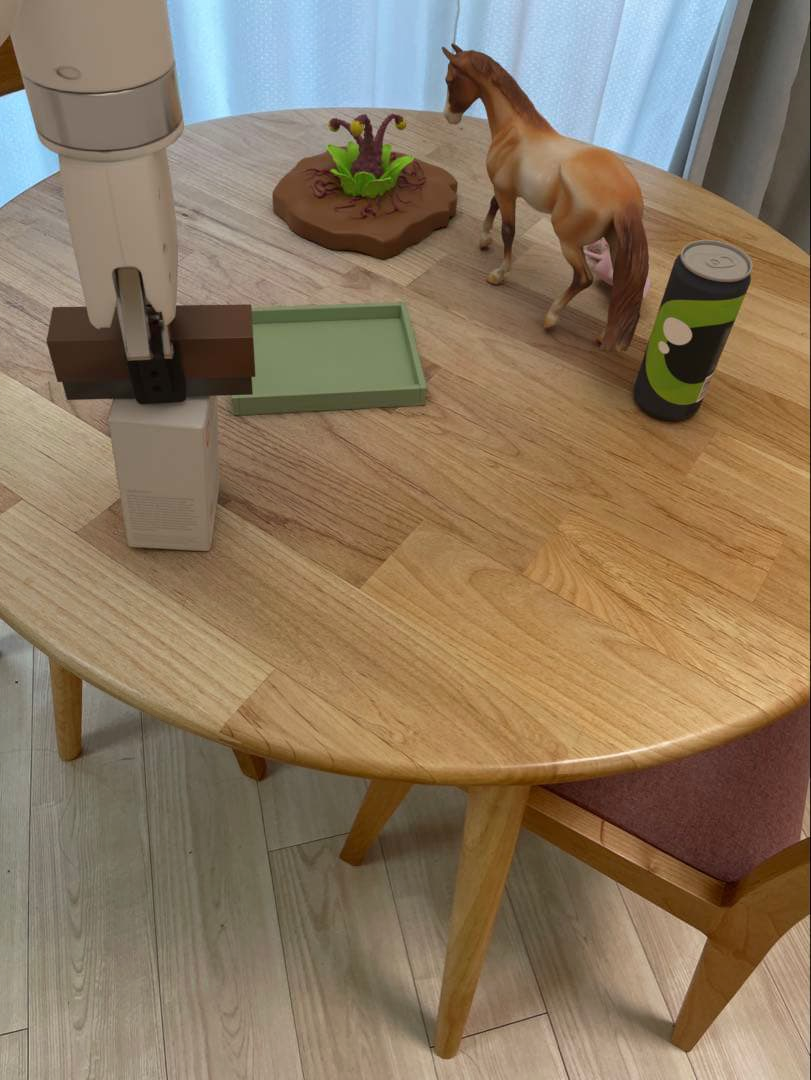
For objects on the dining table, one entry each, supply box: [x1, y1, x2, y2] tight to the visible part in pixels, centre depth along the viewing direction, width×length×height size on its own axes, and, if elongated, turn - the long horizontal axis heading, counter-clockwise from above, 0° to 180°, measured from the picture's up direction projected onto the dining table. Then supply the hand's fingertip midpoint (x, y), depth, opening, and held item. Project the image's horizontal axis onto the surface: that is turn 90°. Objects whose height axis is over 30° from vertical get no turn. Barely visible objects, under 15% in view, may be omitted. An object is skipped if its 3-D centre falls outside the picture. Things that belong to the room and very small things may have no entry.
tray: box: [230, 301, 428, 416], centre depth 82 cm, size 17×13×2 cm
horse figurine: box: [441, 42, 650, 353], centre depth 83 cm, size 31×8×21 cm, turn 32°
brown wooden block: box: [46, 303, 255, 401], centre depth 58 cm, size 12×4×5 cm, turn 98°
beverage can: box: [633, 239, 754, 421], centre depth 76 cm, size 6×6×15 cm
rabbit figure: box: [583, 237, 652, 299], centre depth 92 cm, size 6×6×15 cm
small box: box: [107, 396, 221, 552], centre depth 64 cm, size 8×6×13 cm
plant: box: [271, 113, 459, 260], centre depth 97 cm, size 20×20×11 cm
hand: (162, 376), depth 59 cm, fingers closed on brown wooden block, 3 cm apart
